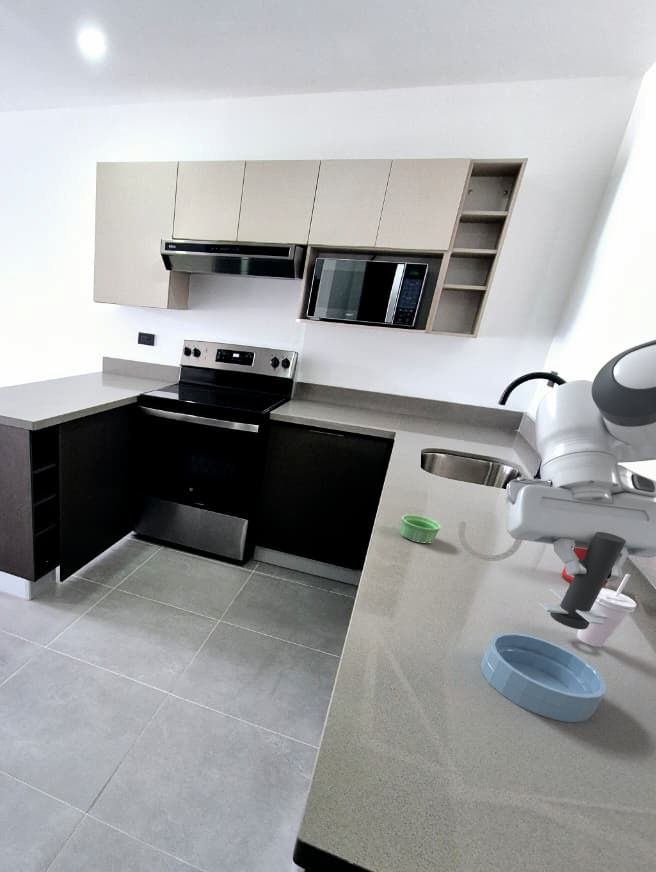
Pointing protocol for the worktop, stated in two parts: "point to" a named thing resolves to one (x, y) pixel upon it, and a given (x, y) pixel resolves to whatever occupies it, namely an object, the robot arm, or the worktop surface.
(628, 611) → the smoothie
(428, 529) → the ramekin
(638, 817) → the worktop surface
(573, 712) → the shallow blue bowl
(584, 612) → the black cylinder
